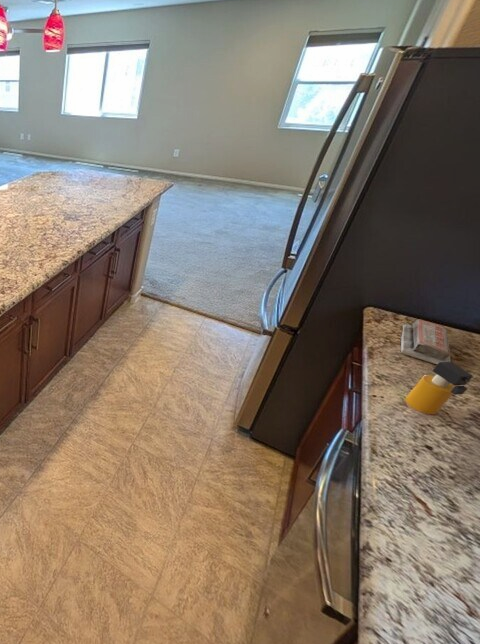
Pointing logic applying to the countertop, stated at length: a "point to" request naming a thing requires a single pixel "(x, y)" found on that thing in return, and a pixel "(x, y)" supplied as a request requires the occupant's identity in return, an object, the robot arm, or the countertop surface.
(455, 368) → the spray bottle
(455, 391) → the trigger
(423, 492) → the countertop surface
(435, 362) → the packaged product
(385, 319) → the countertop surface
